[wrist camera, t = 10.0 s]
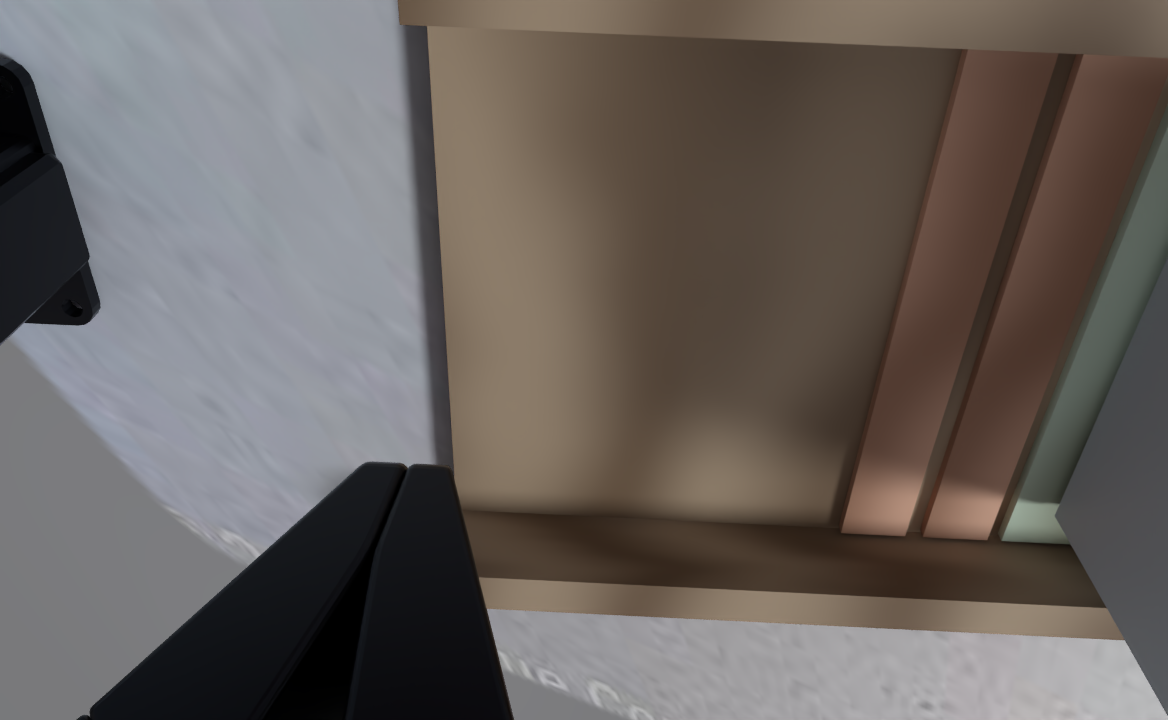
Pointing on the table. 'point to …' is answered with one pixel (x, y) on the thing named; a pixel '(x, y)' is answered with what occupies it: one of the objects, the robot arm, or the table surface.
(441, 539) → the robot arm
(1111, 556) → the grey block
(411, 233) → the table surface
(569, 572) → the box
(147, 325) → the table surface
